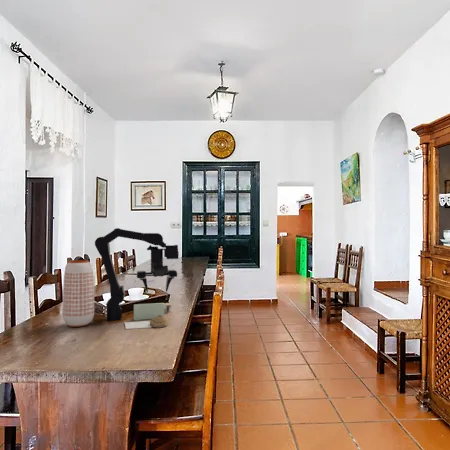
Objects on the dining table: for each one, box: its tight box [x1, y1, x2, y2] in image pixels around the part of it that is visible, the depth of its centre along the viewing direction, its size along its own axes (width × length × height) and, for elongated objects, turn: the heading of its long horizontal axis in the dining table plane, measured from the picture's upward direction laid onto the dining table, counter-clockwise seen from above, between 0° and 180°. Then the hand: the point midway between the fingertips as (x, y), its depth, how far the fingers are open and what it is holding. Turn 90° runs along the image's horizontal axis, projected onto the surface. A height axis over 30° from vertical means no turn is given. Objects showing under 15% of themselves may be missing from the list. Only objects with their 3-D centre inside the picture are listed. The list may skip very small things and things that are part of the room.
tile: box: [124, 320, 153, 330], centre depth 170 cm, size 11×11×1 cm
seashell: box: [150, 315, 170, 328], centre depth 171 cm, size 8×6×8 cm
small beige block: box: [164, 302, 172, 314], centre depth 197 cm, size 4×5×4 cm
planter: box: [61, 259, 95, 328], centre depth 172 cm, size 13×13×28 cm
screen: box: [133, 302, 165, 322], centre depth 182 cm, size 14×4×7 cm, turn 107°
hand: (156, 291), depth 186 cm, fingers open, 9 cm apart
